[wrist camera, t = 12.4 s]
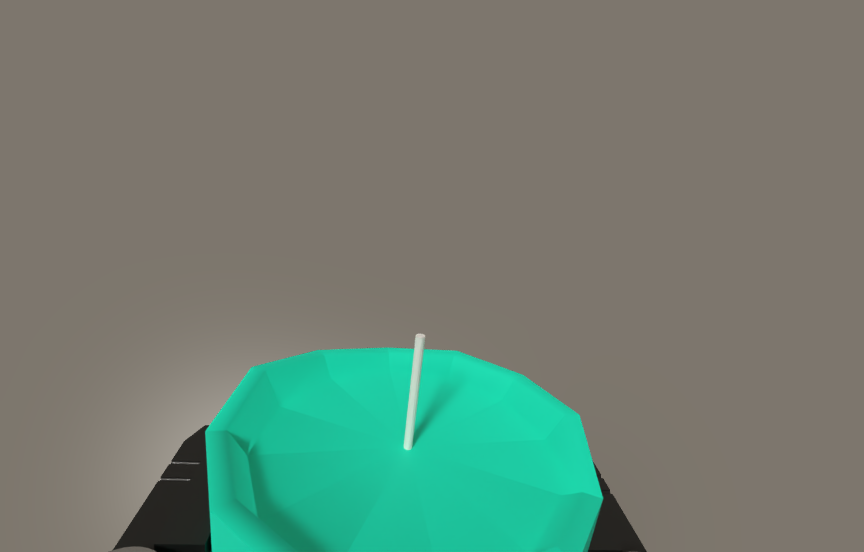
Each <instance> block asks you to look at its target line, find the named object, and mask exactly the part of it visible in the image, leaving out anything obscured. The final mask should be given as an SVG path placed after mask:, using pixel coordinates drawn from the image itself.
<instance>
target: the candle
mask: <svg viewBox="0 0 864 552" xmlns="http://www.w3.org/2000/svg"><path fill="white" fill-rule="evenodd" d="M424 343H425V335H424V334H416V339H415V348H414V349H406V348H364V349H363V348H362V349H336V350H335V349H334V350H316V351H312V352H309V353H304V354H301V355H297V356H293V357H289V358H285V359H281V360H277V361H273V362H269V363H265V364H261V365H258V366H254V367H251V369H250V370H249V371H248V373H247V374H246V376H245V377H244V378H243V380H242V381H241V383H240V384H239V385H238V387H237V388H236V389H235V391H234V392H233V394H232V395H231V397H230V398H229V399H228V400H227V402H226V403H225V405H224V406H223V408H222V409H221V410H220V412H219V413H218V414H217V416H216V417H215V418H214V420H213V421H212V423H211V424H210V425H209V427H208V428H207V429H206V431H205V437H206V455H207V473H208V491H209V509H210V527H211V545H212V552H588V549H589V546H590V542H591V539H592V535H593V532H594V529H595V525H596V522H597V518H598V515H599V511H600V508H601V505H602V501H603V496H602V493H601V489H600V485H599V482H598V478H597V475H596V471H595V468H594V464H593V461H592V457H591V454H590V450H589V447H588V444H587V440H586V436H585V433H584V429H583V426H582V422H581V419H580V415H579V414H577V413H576V412H575V411H573V410H572V409H570V408H569V407H568V406H566V405H565V404H563V403H562V402H561V401H559V400H558V399H556V398H555V397H553V396H552V395H551V394H549V393H548V392H546V391H545V390H544V389H542V388H541V387H539V386H538V385H537V384H535V383H534V382H532V381H531V380H529V379H528V378H526V377H525V376H524V375H522V374H519V373H516V372H514V371H510V370H508V369H506V368H503V367H500V366H497V365H494V364H492V363H489V362H486V361H484V360H481V359H478V358H475V357H473V356H470V355H467V354H464V353H462V352H459V351H450V350H449V351H448V350H428V349H424Z"/></svg>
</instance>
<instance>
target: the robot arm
mask: <svg viewBox="0 0 864 552" xmlns="http://www.w3.org/2000/svg"><path fill="white" fill-rule="evenodd" d="M208 427H209V425H205V426H204V427H202V428H201V429H200V430H198V431H197V432H196V433H194V434H193V435H192V436H190V437H189V438H188V439H187V440H185V441H184V442H183V444H182V446H181V447H180V449H179V450H178V452H177V453H176V455H175V456H174V458H173V459H172V463H171V464H169V466H168V467H167V468H166V470H165V471H164V473H163V474H162V476H161V480H160V481H158V482H157V484H156V485H155V487H154V488H153V490H152V491H151V493H150V494H149V496H148V497H147V499H146V500H145V502H144V503H143V505H142V507H141V508H140V510H139V511H138V513H137V514H136V516H135V517H134V519H133V520H132V522H131V523H130V525H129V526H128V528H127V529H126V531H125V533H124V534H123V536H122V537H121V539H120V540H119V542H118V543H117V545H116V546H115V548H114V549H113V550H112V551H110V552H212V545H211V527H210V509H209V491H208V473H207V455H206V437H205V431H206V429H207V428H208ZM593 464H594V462H593ZM594 468H595V471H596V475H597V478H598V482H599V485H600V489H601V493H602V496H603V501H602V505H601V508H600V511H599V515H598V518H597V522H596V525H595V529H594V532H593V535H592V539H591V542H590V546H589V549H588V552H646V550H645V548H644V546H643V545H642V543H641V541H640V540H639V538H638V536H637V535H636V533H635V531H634V530H633V528H632V526H631V525H630V523H629V521H628V520H627V518H626V516H625V514H624V513H623V511H622V509H621V508H620V506H619V504H618V503H617V501H616V499H615V498H614V496H613V495H612V494H610V489H609V488H608V486H607V484H606V483H605V481H604V479H603V478H601V474H600V472H599V471H598V469H597V468H596V466H595V464H594Z"/></svg>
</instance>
